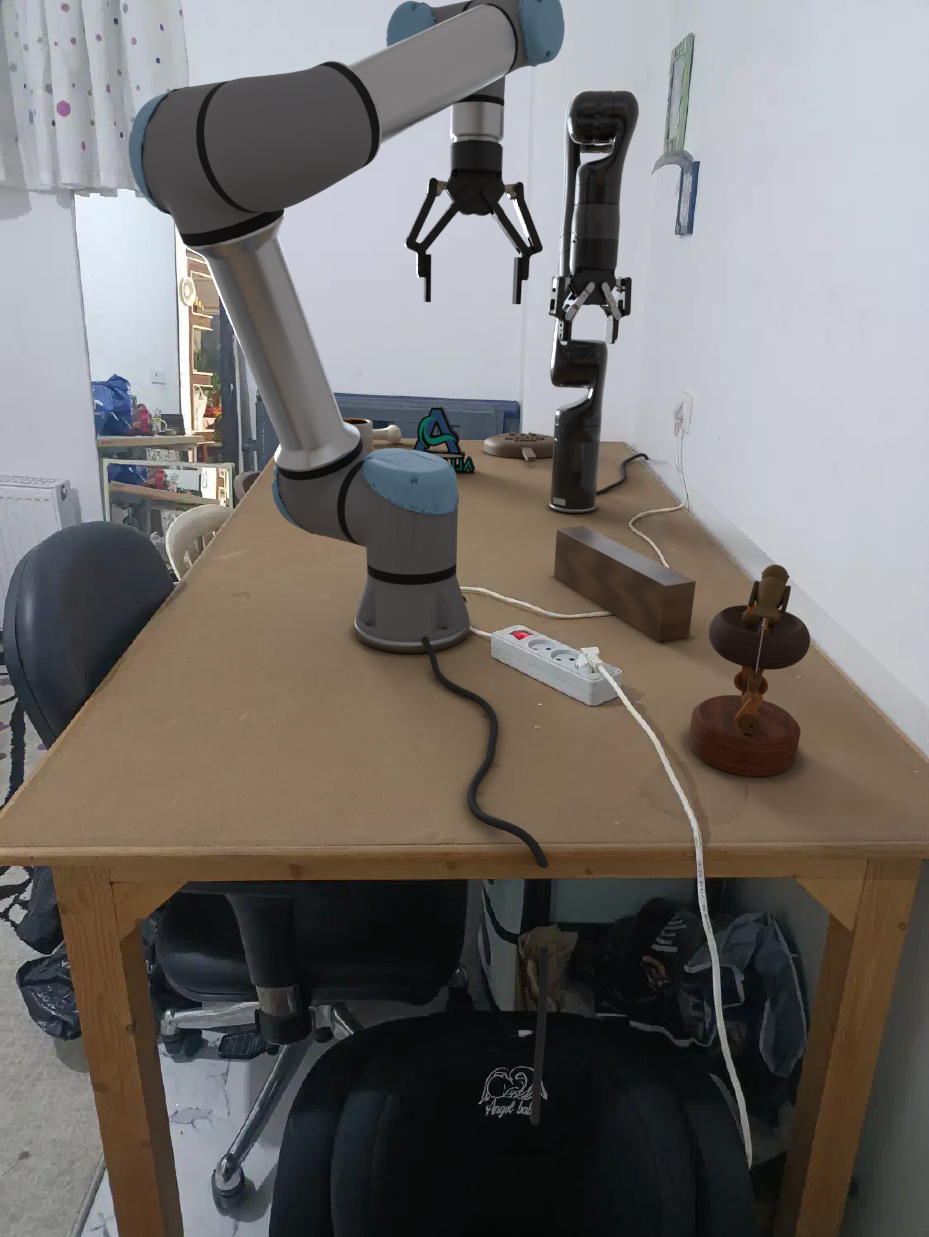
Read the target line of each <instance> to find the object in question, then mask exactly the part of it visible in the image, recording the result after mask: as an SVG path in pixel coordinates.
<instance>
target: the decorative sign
mask: <svg viewBox="0 0 929 1237" xmlns="http://www.w3.org/2000/svg"><path fill="white" fill-rule="evenodd" d="M436 428H438V431H439V433H435V434H434V432H435V430H436ZM416 434H417V435H416V436H417V438H416V442H415V444H414V446H413V448H412V450H418V451H422V452H426V453H430V454H433V455H436V456H438V457H441V458H443V459H444V460H446V461H447V462H448V463H450V464H451V466H452V467H453V468H454V470H455V473H467V472H470V473H475V470H476V466H475V463H474V462H473V458H472V456H470V455H468V456H467V457H466V452H465V451H462V448H461V446H460V435H459V434H458V432H457V431H456V430H455V429H454V428H453V427H452V425H451V422H450V420H449V417H448V415H447V413H446V411H445V408H444V407H443V405H433V406H431V407H430V409H429V412H428V413H426V414H425V415H424V416H423V417H422V418H421V419H420V421H419V423H418V425H417V430H416ZM443 444H444V446H445V447H446V449H430V448H431V447H432V448H433V447H438V446H441V445H443ZM465 457H466V459H465Z"/></svg>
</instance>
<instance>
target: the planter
mask: <svg viewBox="0 0 929 1237" xmlns="http://www.w3.org/2000/svg"><path fill="white" fill-rule="evenodd" d="M342 419H343V421H344V422H346V423H349V424H351V425H353V426H355V427H356V428H357V429H358V431H359V433H360V436H361V439H362V442H363V444H364V447H365V450H366V453H367V455H368V454H369V453H371V452H373V451H375V449H374V440H373V429H374V428H373V420H371V419H369V418H362V417H361V418H360V417H342Z"/></svg>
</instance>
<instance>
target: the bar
mask: <svg viewBox="0 0 929 1237" xmlns="http://www.w3.org/2000/svg"><path fill="white" fill-rule="evenodd" d="M553 571H554V572H553V577H554V579H556V580H558V581H560V582H561V583H563V584H564V585H566V586H567V587H569V588H570V589H572V590H574V591H576V592H577V593H578V594H580V595H582V596H583V597H585V598H587V599H588V600H590V601H591V602H593V603H594V604H596V605H598V606H599V607H601V608H603V609H604V610H606V611H608V612H609V613H611V614H612V615H613V616H615V617H617V618H619V619H620V620H622V621H624V623H627V624H628V625H630V626H632V627H633V628H635V629H636V630H638V631H640V632H641V633H643V634H644V635H646V636H648V637H649V638H650V639H653V640H654V641H656V642H657V643H659V644H660V643H665V642H673V641H677V640H682V639H687V638H689V637H690V631H691V624H692V623H691V622H692V616H693V607H694V600H695V593H696V584H697V581H696V580H694V579H692V578H690V577H688V576H686V575H684V574H682V573H680V572H678V571H677V570H674V569H672V568H670V567H668V566H665V565H664V564H662V563H660V562H658V561H656V560H654V559H652V558H650V557H647V556H645V555H643V554H641V553H639V552H637V551H635V550H634V549H632V548H629V547H628V546H625V545H623V544H621V543H619V542H618V541H615V540H614V539H611V538H609V537H607V536H605V535H603V534H602V533H599V532H597V531H595V530H593V529H591V528H588V527H587V526H585V525H578V526H569V527H568V526H567V527H560V528H556V535H555V553H554V568H553Z"/></svg>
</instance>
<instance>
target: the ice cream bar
mask: <svg viewBox="0 0 929 1237" xmlns="http://www.w3.org/2000/svg"><path fill="white" fill-rule="evenodd" d="M553 445H554V436H552V435H547V434H542V433H534V432H528V433H525V432H523V433H522V432H519V433H517V432H514V431H513V432H506V433H500V434H496V435H495V434H494V435H492V436H489V437H487V438H485V440H484V442H483V452H485V453H487V454H489V455H493V456H498V457H503V458H504V457H505V458H523V459H525V461H526V462H532V463H533V462H536V461H537V459H538V458H550V457H553Z"/></svg>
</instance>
